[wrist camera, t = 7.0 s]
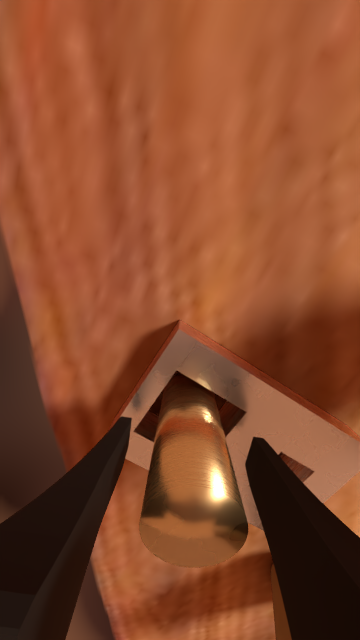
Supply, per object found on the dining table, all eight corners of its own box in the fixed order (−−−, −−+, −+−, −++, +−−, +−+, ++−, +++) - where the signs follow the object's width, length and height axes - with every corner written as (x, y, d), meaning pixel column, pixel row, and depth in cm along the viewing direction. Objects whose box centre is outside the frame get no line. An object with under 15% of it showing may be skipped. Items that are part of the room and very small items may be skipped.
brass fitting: (220, 380, 14) (263, 502, 6) (205, 422, 15) (228, 576, 7) (169, 367, 14) (152, 477, 6) (157, 411, 15) (129, 555, 7)
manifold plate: (347, 425, 15) (378, 454, 12) (267, 502, 17) (281, 540, 14) (179, 319, 13) (178, 328, 11) (113, 418, 15) (100, 445, 13)
